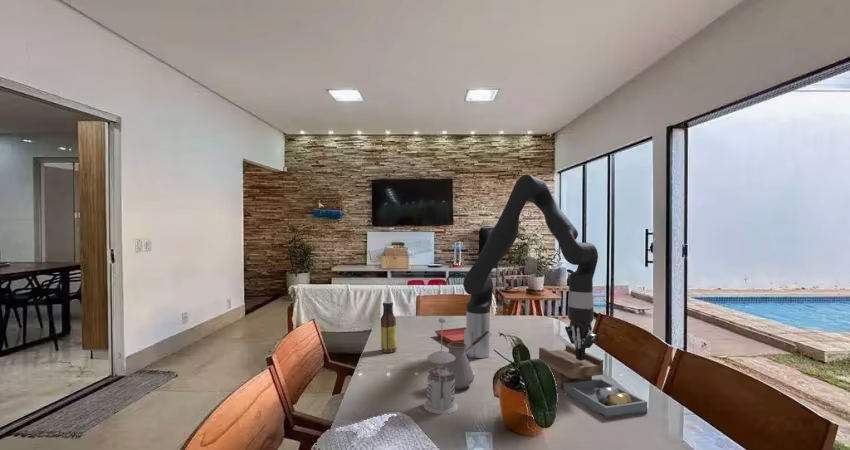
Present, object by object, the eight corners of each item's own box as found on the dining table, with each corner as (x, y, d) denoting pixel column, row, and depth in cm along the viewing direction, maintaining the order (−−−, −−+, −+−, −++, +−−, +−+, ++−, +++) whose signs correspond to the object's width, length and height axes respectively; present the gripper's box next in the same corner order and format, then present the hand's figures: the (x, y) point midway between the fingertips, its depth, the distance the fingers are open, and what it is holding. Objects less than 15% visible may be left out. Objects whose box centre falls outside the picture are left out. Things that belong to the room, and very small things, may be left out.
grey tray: (606, 419, 109) (606, 408, 109) (563, 392, 126) (563, 383, 126) (647, 412, 113) (647, 401, 113) (600, 387, 131) (600, 378, 131)
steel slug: (605, 390, 116) (595, 386, 120) (606, 405, 115) (596, 401, 119) (619, 388, 117) (609, 385, 121) (620, 402, 117) (610, 399, 121)
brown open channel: (570, 394, 125) (571, 363, 125) (538, 375, 141) (539, 347, 141) (602, 390, 128) (603, 360, 128) (568, 371, 144) (568, 345, 144)
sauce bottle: (397, 349, 168) (398, 300, 168) (395, 353, 162) (395, 303, 162) (382, 348, 169) (382, 300, 169) (378, 353, 163) (379, 303, 163)
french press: (456, 398, 121) (457, 314, 121) (460, 417, 109) (462, 323, 109) (422, 398, 121) (424, 314, 121) (424, 417, 109) (425, 323, 109)
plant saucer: (433, 337, 188) (433, 330, 188) (467, 333, 196) (467, 326, 196) (452, 348, 172) (452, 340, 172) (488, 343, 179) (488, 336, 179)
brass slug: (615, 394, 112) (605, 394, 116) (618, 410, 111) (608, 409, 114) (629, 392, 114) (619, 392, 117) (633, 408, 112) (622, 407, 116)
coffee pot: (455, 394, 124) (456, 345, 124) (431, 383, 132) (431, 337, 132) (501, 378, 137) (502, 334, 137) (476, 369, 146) (477, 327, 146)
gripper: (557, 302, 135) (557, 354, 135) (585, 309, 123) (584, 367, 123) (576, 301, 138) (576, 352, 137) (605, 308, 125) (605, 365, 125)
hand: (580, 359), depth 130 cm, fingers closed
